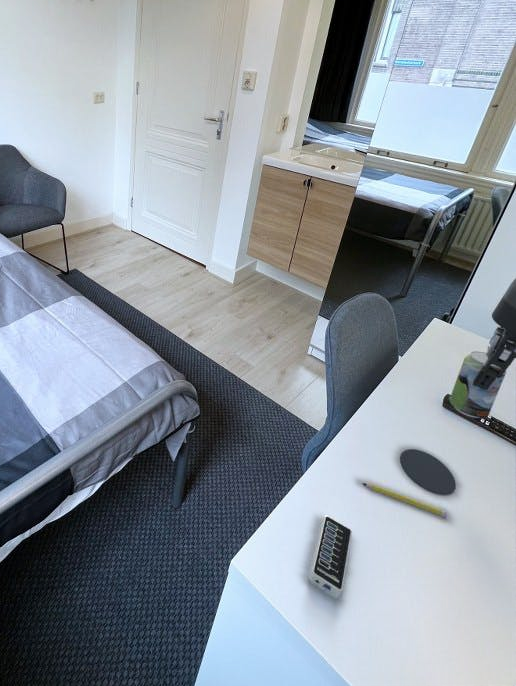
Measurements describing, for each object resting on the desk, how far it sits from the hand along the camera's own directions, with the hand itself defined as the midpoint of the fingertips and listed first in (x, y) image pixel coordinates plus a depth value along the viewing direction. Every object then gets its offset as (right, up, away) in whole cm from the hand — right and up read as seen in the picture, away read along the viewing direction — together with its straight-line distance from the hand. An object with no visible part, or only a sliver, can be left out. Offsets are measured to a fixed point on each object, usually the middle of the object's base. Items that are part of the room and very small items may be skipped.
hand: (482, 377), depth 78 cm
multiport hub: (-33, -27, -9) cm, 44 cm away
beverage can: (-1, -7, +4) cm, 8 cm away
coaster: (-6, -21, +7) cm, 23 cm away
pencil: (-14, -24, +1) cm, 28 cm away
